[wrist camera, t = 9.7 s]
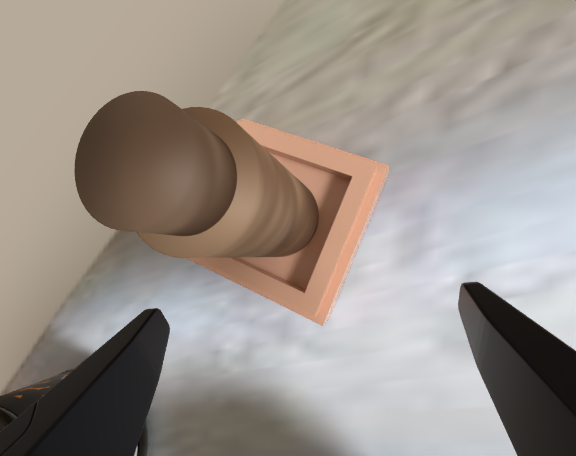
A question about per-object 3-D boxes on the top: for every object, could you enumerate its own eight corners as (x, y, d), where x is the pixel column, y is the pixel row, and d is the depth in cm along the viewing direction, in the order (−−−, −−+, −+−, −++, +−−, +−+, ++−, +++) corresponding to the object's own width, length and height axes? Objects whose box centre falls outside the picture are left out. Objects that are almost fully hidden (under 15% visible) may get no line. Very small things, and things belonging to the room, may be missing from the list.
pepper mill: (317, 258, 19) (214, 262, 7) (240, 255, 21) (47, 255, 9) (319, 175, 20) (223, 51, 8) (243, 178, 21) (62, 77, 9)
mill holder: (329, 318, 21) (318, 330, 18) (205, 257, 24) (175, 257, 21) (388, 175, 21) (389, 159, 18) (255, 132, 24) (233, 110, 20)
